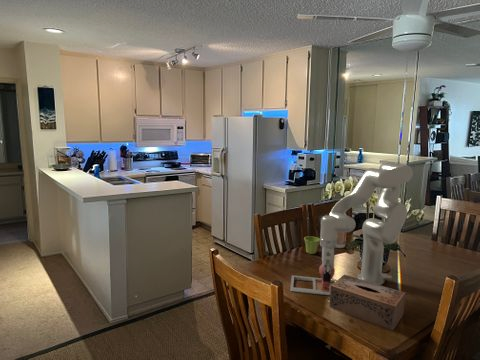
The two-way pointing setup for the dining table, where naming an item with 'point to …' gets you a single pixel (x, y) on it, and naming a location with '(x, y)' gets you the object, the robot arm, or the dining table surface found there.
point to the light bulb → (321, 270)
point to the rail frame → (317, 285)
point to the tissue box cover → (368, 301)
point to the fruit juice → (341, 239)
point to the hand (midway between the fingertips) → (326, 276)
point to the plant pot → (311, 244)
